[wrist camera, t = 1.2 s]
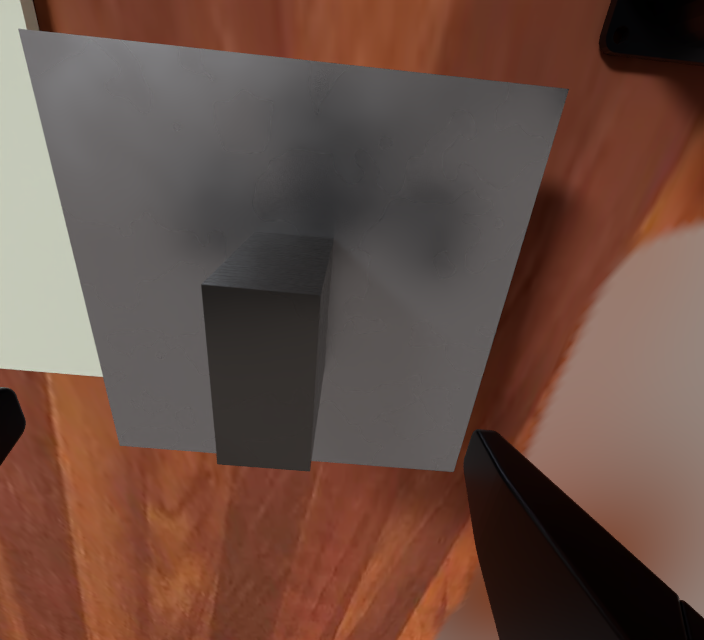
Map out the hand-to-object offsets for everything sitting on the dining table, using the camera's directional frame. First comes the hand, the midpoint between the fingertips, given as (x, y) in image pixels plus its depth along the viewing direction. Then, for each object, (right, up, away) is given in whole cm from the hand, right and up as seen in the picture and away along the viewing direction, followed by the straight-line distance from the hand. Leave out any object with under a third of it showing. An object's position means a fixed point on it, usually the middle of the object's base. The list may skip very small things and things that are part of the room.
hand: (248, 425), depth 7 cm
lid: (0, +3, +6) cm, 7 cm away
